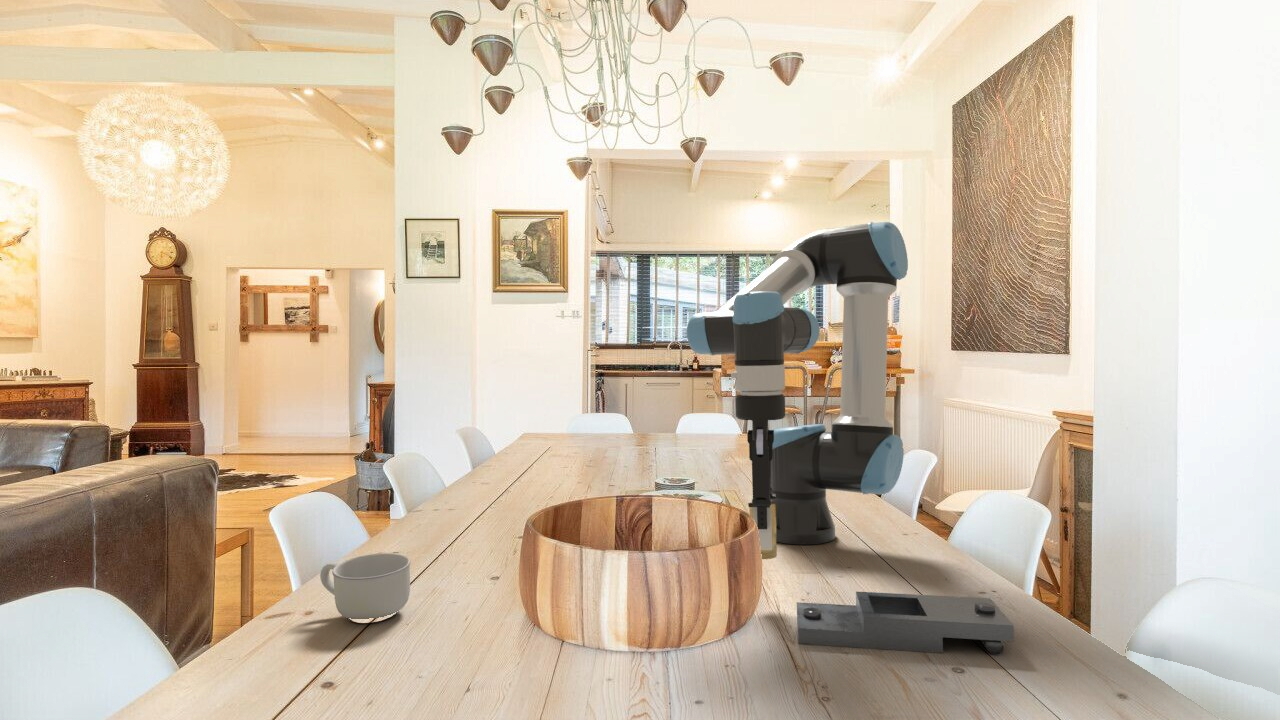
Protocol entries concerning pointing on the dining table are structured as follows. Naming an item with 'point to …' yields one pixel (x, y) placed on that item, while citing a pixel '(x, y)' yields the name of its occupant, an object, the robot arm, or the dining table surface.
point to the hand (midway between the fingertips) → (763, 545)
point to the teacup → (369, 584)
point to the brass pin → (772, 553)
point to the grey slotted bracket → (904, 622)
